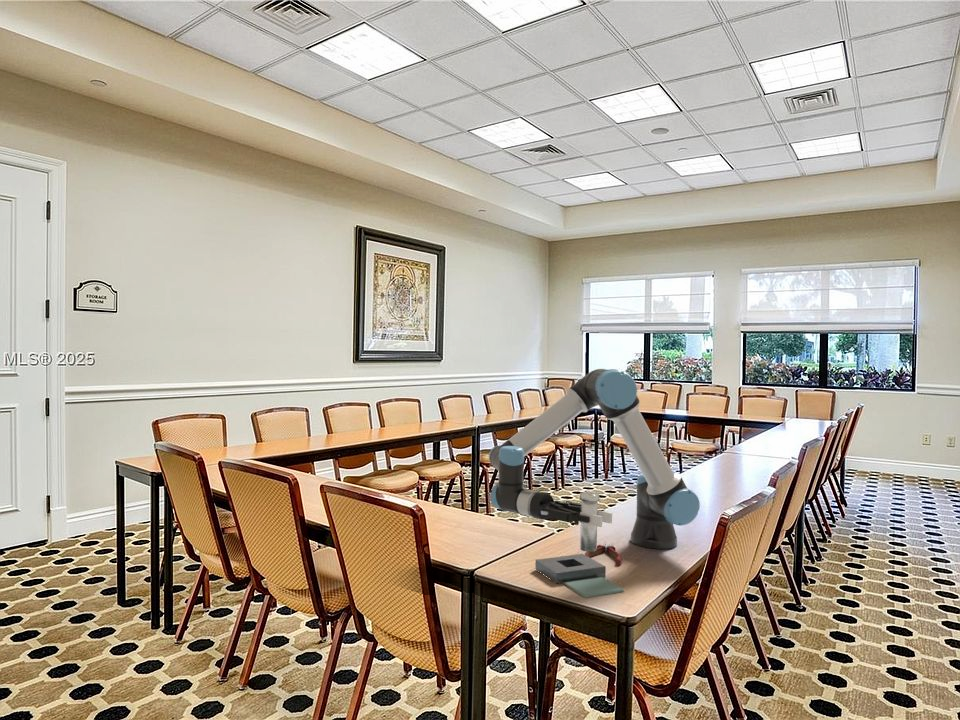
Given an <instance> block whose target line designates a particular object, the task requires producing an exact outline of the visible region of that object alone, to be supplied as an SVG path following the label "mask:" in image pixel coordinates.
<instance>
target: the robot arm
mask: <svg viewBox="0 0 960 720" xmlns="http://www.w3.org/2000/svg"><path fill="white" fill-rule="evenodd" d="M637 393H638V386H637V383H636V381H635V379H634V378H633V377H632V376H631V375H630V374H629V373H627V372H625V371H623V370H620V369H614V368H611V369H605V368H598V369H594V370H591V371H590V372H588V373H586V374H585V375H584V376H583V377H581V378H580V379H579V380H578V381H577V382H575V383H574V384H573V385H571V386H570V387H568V389H567V393H566V394H565V395H564V396H563V397H561V398H560V399H558V400H557V401H556V402H555V403H553V404H552V405H551V406H550V407H548V408H547V409H546V410H544V411H543V412H542V413H541V414H539V415H537V417H535V418H534V419H533V420H532V421H530V422H529V423H528V424H527V425H525V426H524V427H523V428H521V429H520V430H518V432H517V433H515V434H514V435H512V436H511V437H510V438H509V439H507V440H506V441H505V442H503V443H502V444H501V445H495V446H494V447H492V448H491V450H490V451H489V454H488V461H489V462H490V465H491V466H492V468H493V469H495V470H496V471H498V483H497V484H495V485H494V486H493V487H492V489H491V493H490V494H489V500H490V503H491V505H492V506H493V508H495V509H498V510H501V511H503V512H508V513H514V514H517V515H522V516H526V518H528V519H529V518H530V517H531V518H535V519H539V520H542V521H545V520H549V519H552V520H557V521H561V522H564V523H569V524H573V522H574V526H579V524H581V523H585V524H589V525H593V526H597V528H602V527H603V523H607V524H613V512H608V511H604V510H599V509H597V515H594V514H589V513H584V512H581V503H577V502H573V501H570V500H566V501H565V502H564V501H563V502H562V501H561V500H554V497H553V496H552V495H551V494H550V493H546V492H542V491H537V490H532V489H528V488H527V489H526V488H524V471H525V469H524V468H525V466H524V465H525V457H526V456H527V455H528V454H530V452H532V451H534V450H535V449H536V448H537V447H539V446H540V445H541V444H542V443H544V442H545V441H547V440H548V439H549V438H551V436H553V435H554V434H555V433H557V431H559V430H561V429H562V428H563V427H565V426H566V425H567V424H568V423H569V422H571V421H572V420H573V419H574V418H576V417H577V416H578V415H580V414H581V413H587V412H588V411H590V410H591V409H593V408H595V407H597V406H599V408H600V410H601V411H602V414H603V415H604V417H605V419H607V420H610V421H612V422H613V424H614V425H615V427H616V428H617V430H618V432H619V434H620V436H621V438H622V439H623V441H624V444H625V445H626V447H627V448H628V451H629V452H630V454H631V456H632V458H633V459H634V461H635V463H636V464H637V466H638V468H639V470H640V472H641V474H640V475H638V477H637V479H636V480H637V482H636V517H635V518H636V519H635V521H634V525H633V527H632V530H631V533H630V542H631V543H633V544H634V545H636V546H639V547H643V548H646V549H647V548H648V549H656V550H665V549H666V550H668V549H673V548H675V547H677V546H678V536H677V532H676V531H675V530H676V529H675V527H674V525H676V526H686V525H688V524H690V523H692V522H693V521H694V520H695V519H696V518H697V516H698V514H699V510H700V508H701V507H700V506H701V503H700V499H699V497H698V495H697V494H696V493H695V492H694V491H693V490H692V489H689V488H688V487H687V485H686V482H685V481H684V480H683V477H682V476H681V474H680V473H677V472H674V471H673V470H672V468H671V466H670V464H669V462H668V460H667V458H666V457H665V455H664V452H662V449H661V448H660V446H659V444H658V442H657V441H656V439H655V436H654V435H653V433H652V431H651V430H650V428H649V426H648V424H647V422H646V421H645V418H644V416H643V415H642V413H641V411H640V409H639V405H640V403H641V401H640V398H639V397H638V394H637Z"/></svg>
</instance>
